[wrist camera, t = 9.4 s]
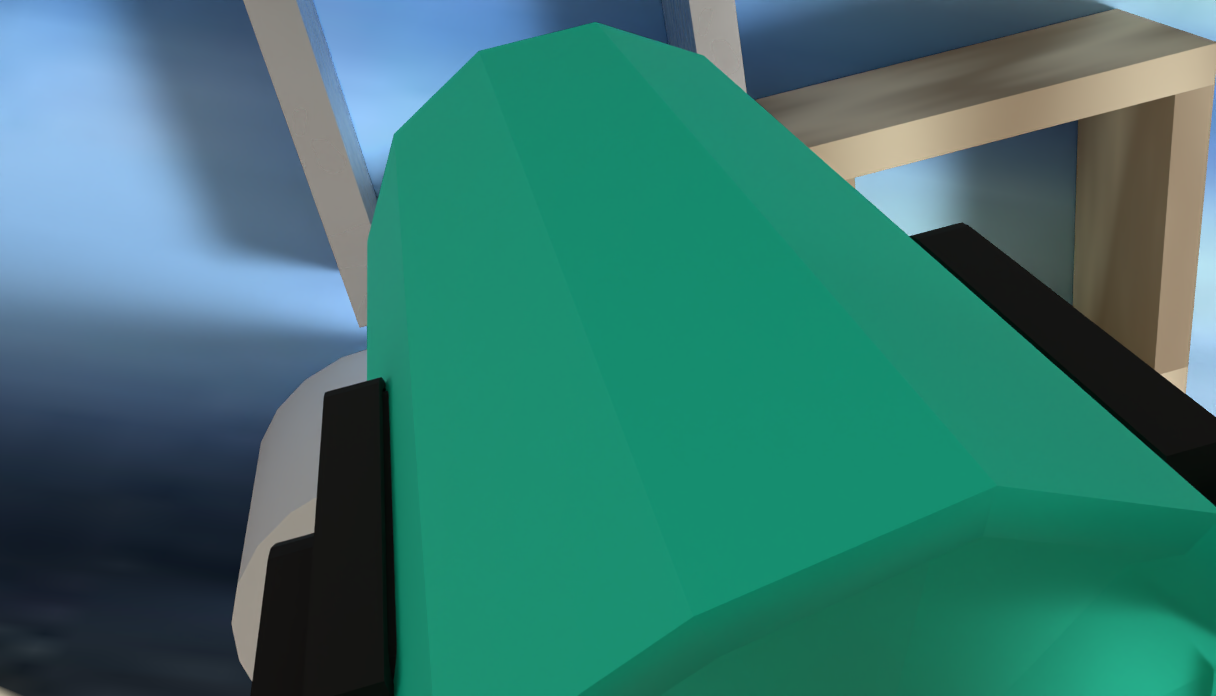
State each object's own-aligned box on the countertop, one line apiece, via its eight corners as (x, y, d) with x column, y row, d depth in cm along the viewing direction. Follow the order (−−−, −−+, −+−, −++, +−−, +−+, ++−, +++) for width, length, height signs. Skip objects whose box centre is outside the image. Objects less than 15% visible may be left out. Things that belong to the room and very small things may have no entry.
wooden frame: (1116, 8, 29) (1218, 42, 25) (1102, 331, 34) (1185, 396, 30) (755, 99, 28) (808, 147, 24) (795, 415, 33) (844, 492, 29)
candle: (277, 163, 14) (25, 1288, 4) (686, -65, 14) (1664, 477, 3) (500, 479, 17) (706, 1588, 7) (840, 300, 17) (1609, 1178, 6)
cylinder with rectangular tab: (253, 335, 28) (184, 664, 18) (588, 345, 30) (698, 647, 20) (257, 601, 33) (203, 994, 22) (553, 594, 35) (629, 952, 24)
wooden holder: (667, -238, 24) (703, -238, 21) (728, 181, 29) (763, 222, 26) (219, -136, 23) (199, -123, 21) (361, 275, 28) (359, 327, 26)
